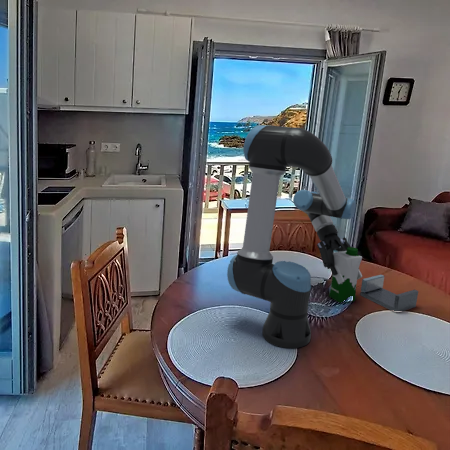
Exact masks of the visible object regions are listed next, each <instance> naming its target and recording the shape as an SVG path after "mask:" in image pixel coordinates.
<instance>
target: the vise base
mask: <svg viewBox="0 0 450 450" xmlns="http://www.w3.org/2000/svg"><path fill="white" fill-rule="evenodd" d="M360 296H361V297H363V298H365V299H367V300H369V301H371V302H373V303H375V304H377V305H379V306H381V307H384V308H385V309H387V310H389V311H391V310H394V311H402V312H405V311H408V310H411V309H414V308H416V307H417V301H418V296H419V290H416V289H413V290H408V291H405V292H402V293H398V294H396V293H395V292H391V290H388V289H385V288H384V287H383V288H379V289H375V290H372V291H368V292H362V291H360Z"/></svg>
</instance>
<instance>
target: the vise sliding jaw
mask: <svg viewBox="0 0 450 450" xmlns="http://www.w3.org/2000/svg"><path fill="white" fill-rule="evenodd" d="M384 281H385V275H383V274H378V275H373V276H370V277H366V278H365V277H364V278H363V279H362V278H361V287H360V292H368V291H372V290H375V289H379V288H383V289H384Z"/></svg>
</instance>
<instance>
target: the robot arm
mask: <svg viewBox="0 0 450 450" xmlns="http://www.w3.org/2000/svg"><path fill="white" fill-rule="evenodd" d="M244 139H245V140H244V143H243V151H242V152H243V157H244V159H245V160H246V161H247V162H248V168H249V170H250V171H251V173H252V175H251V176H252V177H251V186H250V189H249V191H250V192H249V199H248V208H247V212H246V213H247V214H246V221H245V222H246V223H245V228H244V235H243V244H242V247H241V248H240V249H239V250H238V251H237V252H236V254H235V255H234V256H233V257H231V259H230V260H229V261H230V262H229V263H228V267H227V273H226V277H227V281H228V284H229V286H230V287H231V289H232V290H234V291H236V292H237V293H238V292H239V293H241V294H242V295H247V296H251V297H253V298H257V299H260V300H263V301H267V302H269V303H270V304H269V305H270V307H269V313H268V314H267V317H266V320H264V323H263V327H262V337H263V339H264V340H265V341H267V342H268V343H270V344H272V345H274V346H276V347H280V348H283V349H298V348H302V347H305V346H307V345H308V344H309V343H310V342H311V336H312V331H311V327H310V323H309V322H310V321H309V318H308V312H309V311H308V310H309V303H310V295H311V288H312V284H311V280H312V276H311V273H310V271H309V270H308V269H307V268H306V267H305V266H304V265H301V264H299V263H297V262H293V261H286V260H280V261H277V262H275V263H274V264H273V260H274V256H273V254H272V253H271V252H270V250H271V249H270V248H271V241H272V234H273V228H274V221H275V214H276V208H277V207H276V206H277V200H278V193H279V187H280V186H279V185H280V181H281V180H280V179H281V176H284V174H286V172H287V171H286V170H287V167H289V168H290V167H292V168H298V169H300V170H302V171H303V173H305V175H307V176H309V179H311V181H312V183H313V185H314V187H315V189H316V190H317V191H309V190H307V189H300V190H297V191H296V192H295V193H294V195H293V199H292V201H293V204H294V207H296V208H297V210H299V211H302V212H303V213H304V214H306V215H307V216H308V218H309V220H310V222H311V225H312V226H313V229H314V231H315V232H316V235H317V236H318V239H319V242H318V243H317V244H316V247H317V248H318V250H319V253H320V258H321V260H322V261H321V262H322V264H323V268H325V269H326V268H327V270H330V271H331V275H334V276H335V278H336V280H337V282H338V284H341V283H342V282H344V279H343V277H342V275H341V273H340V271H339V269H338V267H337V265H335V263H334V255H333V253H335V252H334V251H336V252H339V251H347V248H348V247H352V246H351V245H350V243H349V242H348V240H347V238H346V237H343V238H340V237H339V234H338V233H339V231H338V229H337V228H336V226H335V224H334V222H333V220H332V218H337V219H340V220H341V219H343V220H351V219H352V218H353V217H354V216H355V213H356V209H357V208H356V207H357V205H356V204H357V203H356V200H355V199H352V198H350V197H346V196H345V193H344V191H343V189H342V186H341V183H340V182H339V180H338V177H337V175H336V172H335V170H334V168H333V157H332V154H331V152H330V149H329V148H328V147H327V145H326V144H325V143H324V142H323V141H322V140H321V139H320V138H319V137H318V136H317V135H315V134H314V133H312V131H309V130H308V129H304V128H301V127H289V126H282V125H281V126H279V125H272V124H270V125H269V124H267V125H266V124H265V125H263V124H262V125H256V126H254V127H253V128H251V130H250V131H248V133H247V135H246V137H245V138H244ZM334 265H335V266H334ZM362 277H363V275H362V272H361V271H360V268H359V269H358V277H357V281H358V280H360V279H362Z"/></svg>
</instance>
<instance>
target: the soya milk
mask: <svg viewBox="0 0 450 450" xmlns="http://www.w3.org/2000/svg"><path fill="white" fill-rule="evenodd" d="M358 253H359V249H358V248H357V247H354V246H353V247H352V246H351V247H348V248H347V251H339V252H338V251H336V252H334V253H333V255H334V263H335V265H337V267H338V269H339V271H340V273H341V275H342V277H343V279H344V282H342V283H341V284H338V282H337V280H336V278H335V276H334V275H333V274H331V283H330V289H329V293H328V297H329V298H331V299H332V300H334V301H336V302H338V304H340V303H341V302H343V301H344V300H346V299H347V298H348V297H350V296H353V301H352V302H355V301H356V296H357V295H356V291H357V284H358V280H357V277H358V269H359V270H360V265H361V261H362V259H363V256H361V255H359V254H358ZM335 265H334V266H335ZM341 304H342V303H341Z"/></svg>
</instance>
